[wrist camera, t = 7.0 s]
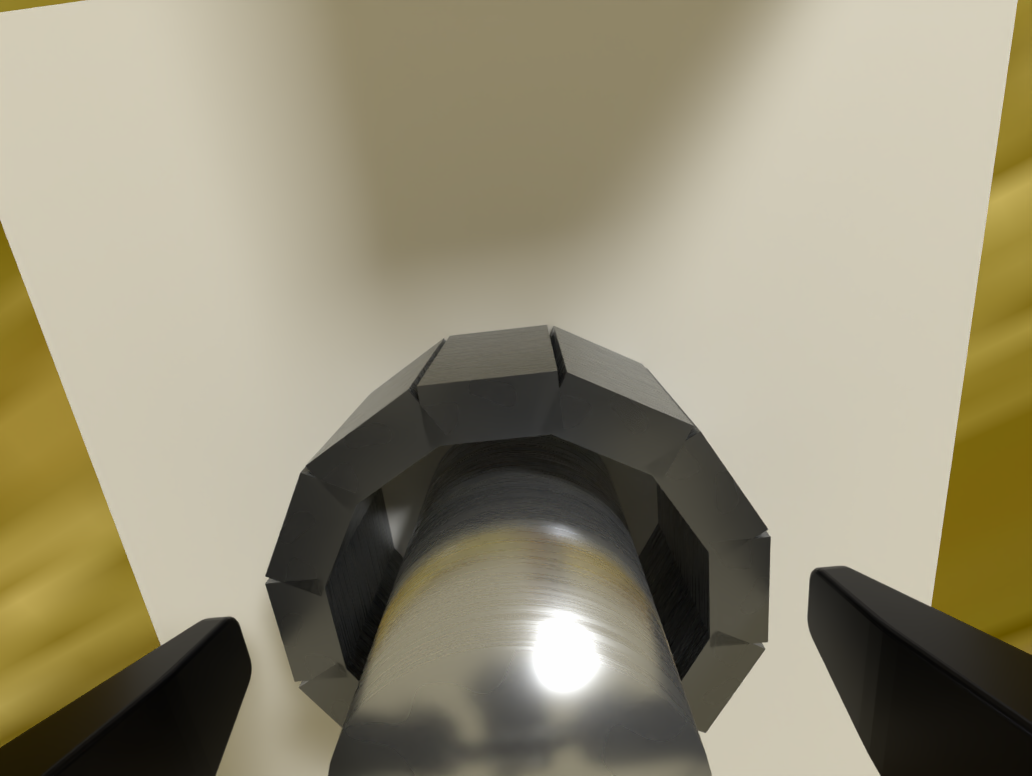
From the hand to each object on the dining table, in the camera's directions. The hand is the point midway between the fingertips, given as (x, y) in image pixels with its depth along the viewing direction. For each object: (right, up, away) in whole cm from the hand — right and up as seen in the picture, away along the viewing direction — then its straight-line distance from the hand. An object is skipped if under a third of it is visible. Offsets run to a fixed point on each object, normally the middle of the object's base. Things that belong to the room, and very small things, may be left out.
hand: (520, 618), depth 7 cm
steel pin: (0, +1, +3) cm, 3 cm away
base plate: (0, +1, +4) cm, 4 cm away
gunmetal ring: (0, +1, +3) cm, 3 cm away
